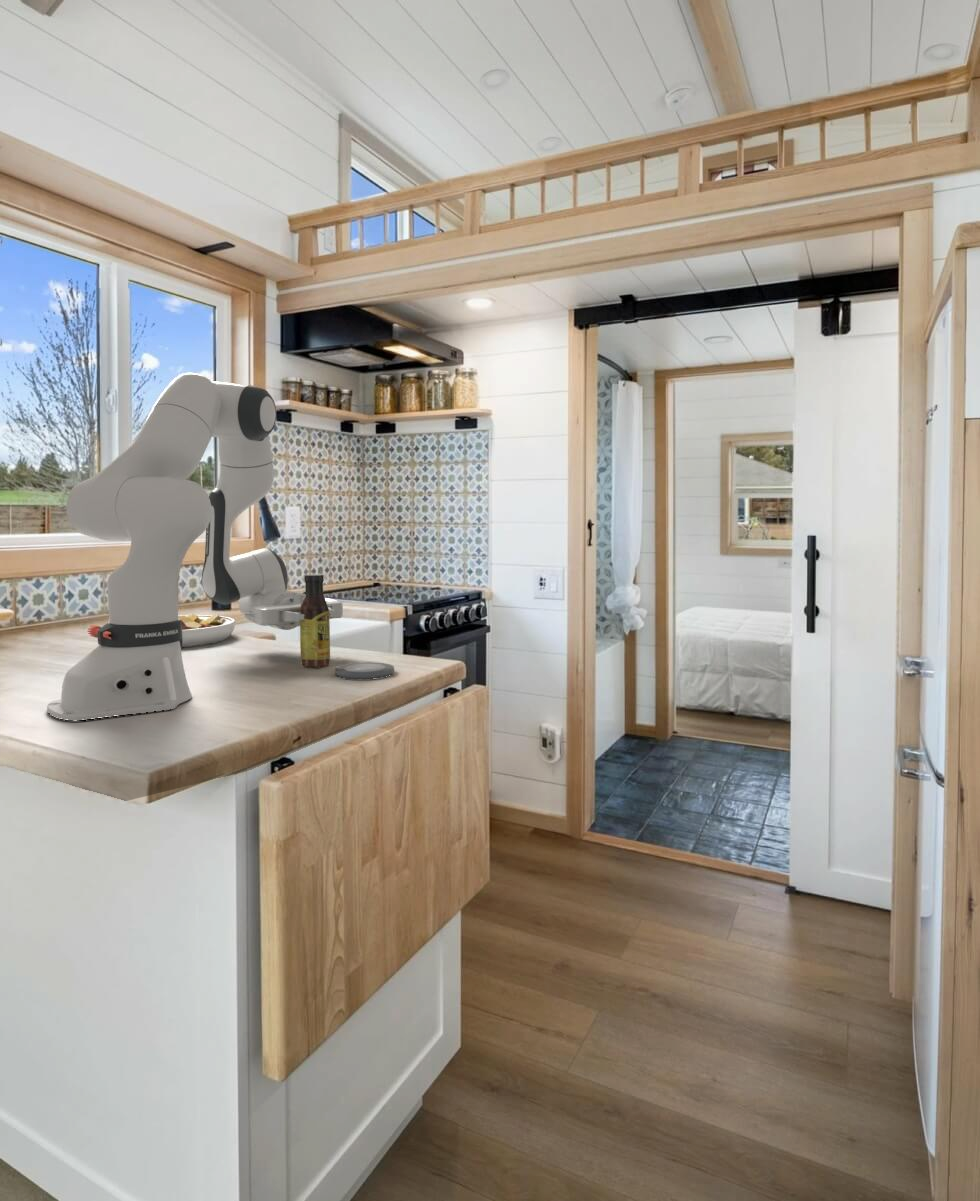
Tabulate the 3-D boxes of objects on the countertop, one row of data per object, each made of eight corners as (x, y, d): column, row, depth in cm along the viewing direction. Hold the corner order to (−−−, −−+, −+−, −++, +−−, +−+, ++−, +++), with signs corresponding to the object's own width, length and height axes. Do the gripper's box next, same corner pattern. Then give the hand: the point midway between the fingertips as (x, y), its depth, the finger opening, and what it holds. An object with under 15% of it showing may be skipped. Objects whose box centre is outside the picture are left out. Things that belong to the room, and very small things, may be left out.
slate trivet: (357, 682, 149) (357, 676, 149) (323, 673, 158) (323, 667, 158) (405, 673, 158) (405, 667, 158) (371, 665, 166) (371, 659, 166)
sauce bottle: (323, 669, 162) (320, 576, 160) (295, 668, 163) (292, 575, 161) (335, 663, 168) (333, 573, 166) (309, 662, 170) (306, 573, 167)
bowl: (112, 636, 207) (111, 607, 206) (229, 630, 219) (228, 602, 218) (108, 655, 180) (106, 622, 179) (241, 646, 192) (240, 615, 191)
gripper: (241, 599, 166) (272, 605, 156) (322, 593, 180) (356, 597, 171) (242, 628, 167) (273, 635, 157) (323, 619, 181) (356, 625, 171)
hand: (317, 615), depth 164 cm, fingers closed on sauce bottle, 6 cm apart
